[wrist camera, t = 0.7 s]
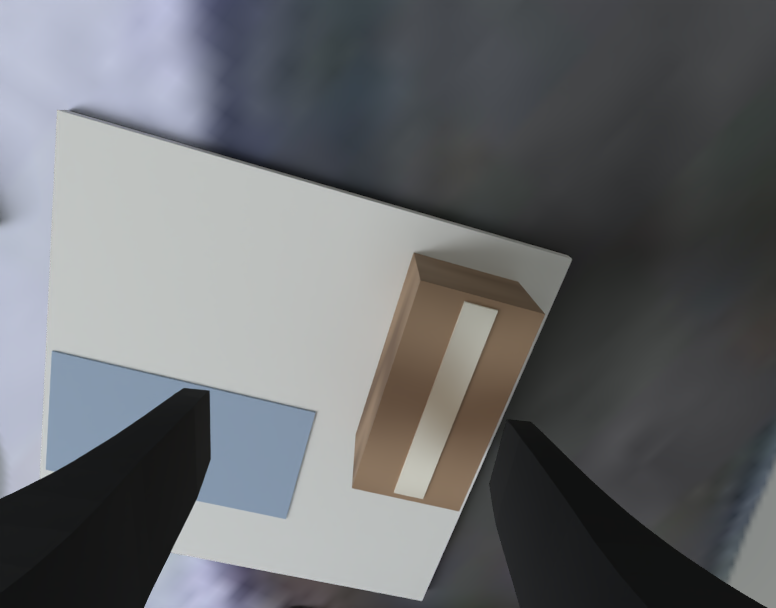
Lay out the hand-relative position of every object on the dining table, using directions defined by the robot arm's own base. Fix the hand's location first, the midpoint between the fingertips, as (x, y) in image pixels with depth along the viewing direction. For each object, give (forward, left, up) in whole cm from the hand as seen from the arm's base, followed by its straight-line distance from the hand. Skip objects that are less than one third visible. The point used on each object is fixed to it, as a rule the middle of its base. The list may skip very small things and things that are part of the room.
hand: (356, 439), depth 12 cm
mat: (-6, +2, -10) cm, 12 cm away
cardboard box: (-2, -4, -9) cm, 10 cm away
